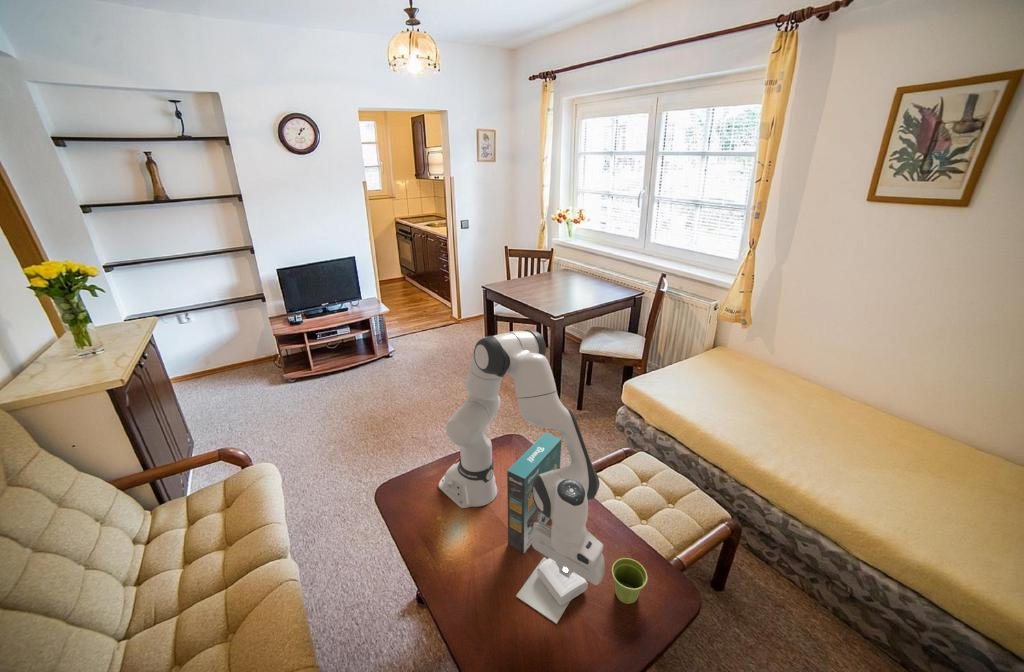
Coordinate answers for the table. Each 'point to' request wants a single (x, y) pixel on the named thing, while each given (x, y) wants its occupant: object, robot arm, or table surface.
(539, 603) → the mat
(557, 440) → the cake mix box
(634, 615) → the table surface
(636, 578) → the plant pot
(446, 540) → the table surface
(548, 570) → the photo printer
